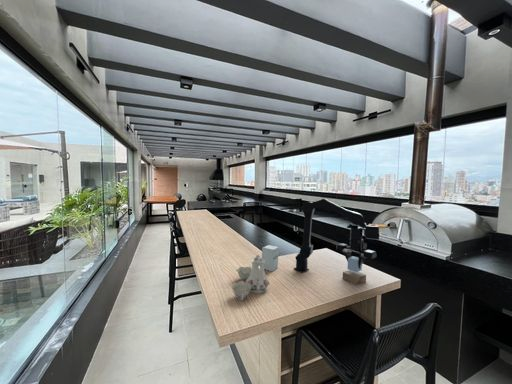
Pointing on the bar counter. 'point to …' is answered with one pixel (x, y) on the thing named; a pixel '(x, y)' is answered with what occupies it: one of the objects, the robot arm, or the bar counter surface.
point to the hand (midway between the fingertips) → (354, 266)
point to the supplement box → (270, 257)
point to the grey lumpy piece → (251, 279)
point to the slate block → (354, 264)
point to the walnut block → (354, 277)
